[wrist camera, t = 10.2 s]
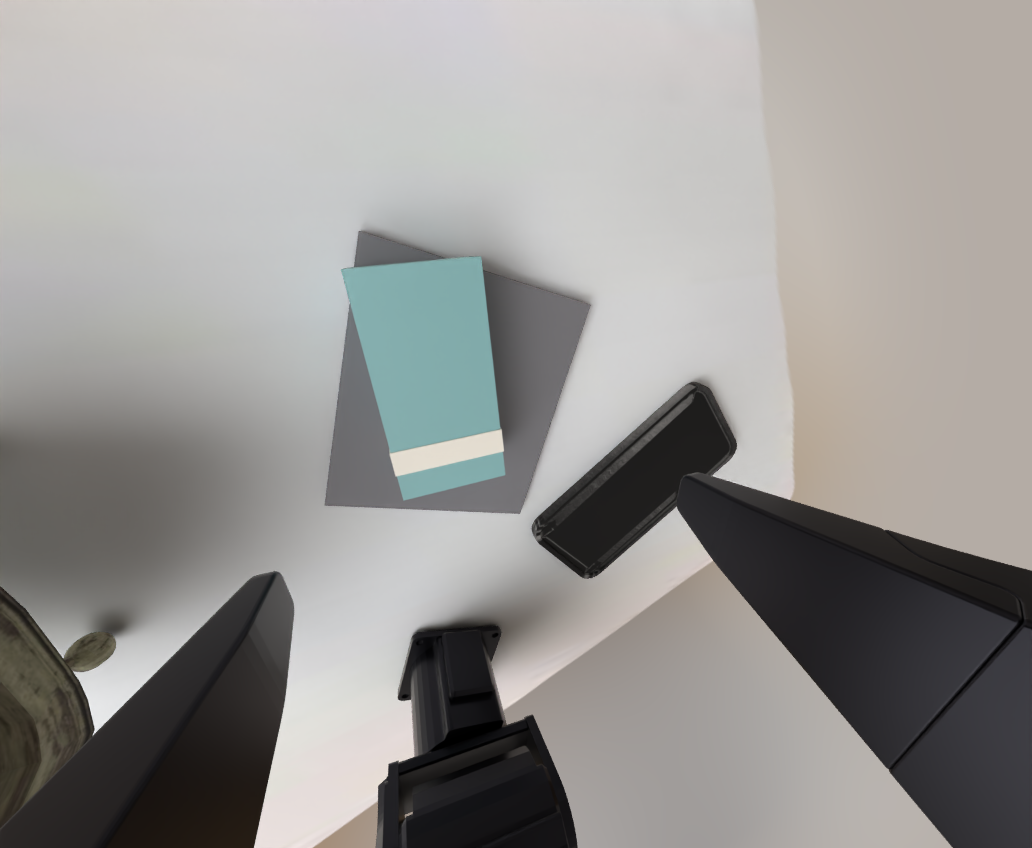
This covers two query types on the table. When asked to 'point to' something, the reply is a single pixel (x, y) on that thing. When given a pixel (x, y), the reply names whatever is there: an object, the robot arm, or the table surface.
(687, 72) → the table surface
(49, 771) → the tabletop clock
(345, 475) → the felt mat
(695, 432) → the phone
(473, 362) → the box
